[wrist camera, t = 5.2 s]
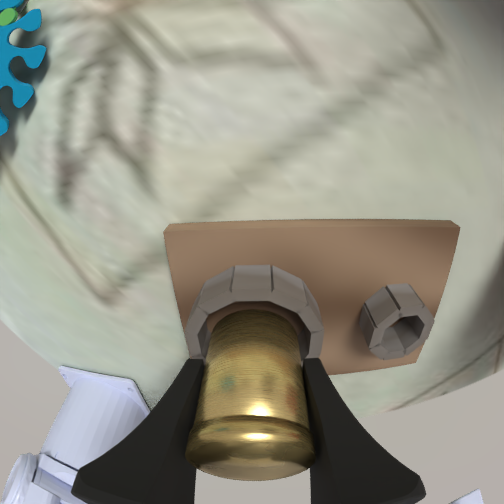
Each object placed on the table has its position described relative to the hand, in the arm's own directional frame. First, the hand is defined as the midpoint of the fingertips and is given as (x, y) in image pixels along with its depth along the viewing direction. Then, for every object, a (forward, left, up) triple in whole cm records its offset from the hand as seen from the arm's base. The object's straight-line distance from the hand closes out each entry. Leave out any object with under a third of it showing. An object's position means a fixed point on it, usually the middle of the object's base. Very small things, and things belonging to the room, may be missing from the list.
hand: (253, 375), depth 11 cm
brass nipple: (0, 0, -2) cm, 2 cm away
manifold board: (0, -3, -5) cm, 6 cm away
